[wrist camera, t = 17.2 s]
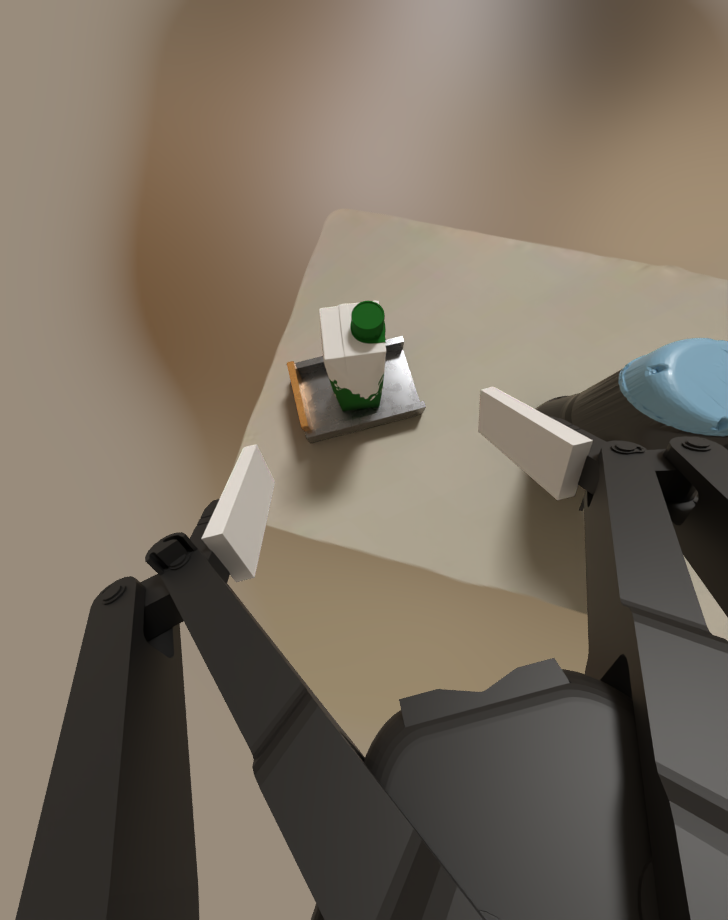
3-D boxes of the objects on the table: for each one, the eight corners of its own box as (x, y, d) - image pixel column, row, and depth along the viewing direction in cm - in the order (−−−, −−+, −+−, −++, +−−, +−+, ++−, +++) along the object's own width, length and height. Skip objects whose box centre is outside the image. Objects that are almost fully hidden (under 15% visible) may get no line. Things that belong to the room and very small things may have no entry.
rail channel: (400, 347, 54) (403, 326, 48) (422, 414, 51) (428, 401, 45) (295, 374, 54) (285, 356, 48) (310, 443, 51) (302, 433, 45)
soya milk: (384, 410, 51) (392, 345, 31) (337, 416, 51) (315, 354, 31) (378, 368, 52) (382, 281, 33) (333, 374, 52) (309, 291, 33)
